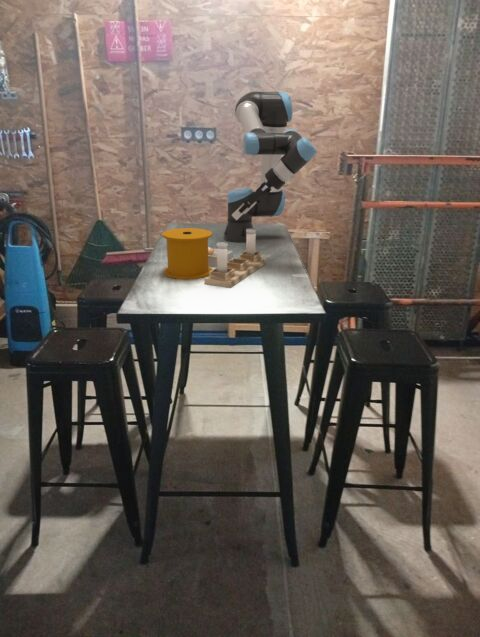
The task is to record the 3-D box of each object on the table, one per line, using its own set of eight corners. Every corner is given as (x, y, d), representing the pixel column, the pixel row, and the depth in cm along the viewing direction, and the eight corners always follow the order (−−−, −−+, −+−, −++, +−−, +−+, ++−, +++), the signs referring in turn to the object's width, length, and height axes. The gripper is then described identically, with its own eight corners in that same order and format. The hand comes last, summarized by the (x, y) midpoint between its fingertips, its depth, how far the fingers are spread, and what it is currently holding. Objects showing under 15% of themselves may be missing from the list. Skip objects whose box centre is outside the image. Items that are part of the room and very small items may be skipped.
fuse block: (242, 260, 197) (242, 249, 195) (265, 263, 193) (266, 252, 192) (204, 283, 168) (204, 271, 167) (230, 287, 165) (230, 275, 163)
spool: (212, 279, 173) (212, 238, 168) (161, 279, 172) (159, 238, 167) (212, 265, 190) (211, 227, 184) (166, 265, 189) (164, 227, 183)
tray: (208, 257, 201) (208, 248, 199) (232, 260, 197) (233, 251, 195) (196, 264, 191) (195, 254, 190) (221, 267, 187) (221, 257, 186)
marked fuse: (221, 256, 193) (195, 242, 194) (222, 251, 189) (195, 237, 190) (216, 263, 192) (190, 249, 192) (217, 259, 188) (190, 245, 189)
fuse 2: (247, 257, 193) (248, 227, 189) (256, 258, 192) (257, 228, 187) (244, 260, 190) (244, 229, 186) (253, 261, 189) (253, 230, 184)
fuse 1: (219, 275, 171) (219, 241, 167) (229, 276, 170) (229, 242, 165) (214, 278, 168) (214, 244, 164) (224, 279, 167) (224, 245, 162)
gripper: (280, 186, 165) (237, 228, 174) (290, 179, 187) (252, 216, 196) (265, 170, 164) (223, 212, 173) (277, 164, 186) (239, 202, 195)
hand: (238, 214), depth 185 cm, fingers open, 13 cm apart
